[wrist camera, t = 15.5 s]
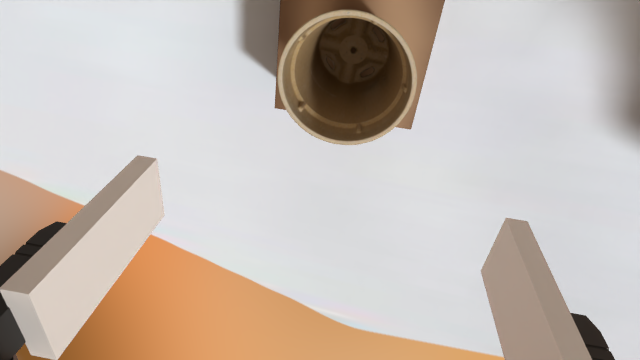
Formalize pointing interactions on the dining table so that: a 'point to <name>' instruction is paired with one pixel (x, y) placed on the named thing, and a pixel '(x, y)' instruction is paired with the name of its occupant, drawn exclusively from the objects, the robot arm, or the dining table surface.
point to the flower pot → (347, 77)
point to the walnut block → (386, 3)
